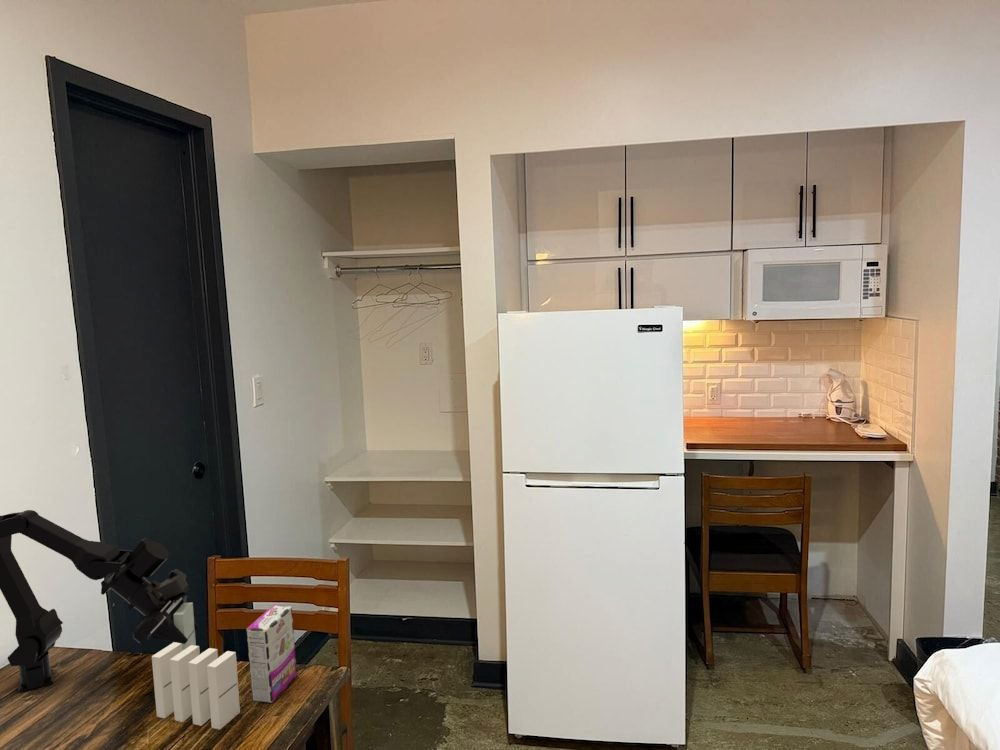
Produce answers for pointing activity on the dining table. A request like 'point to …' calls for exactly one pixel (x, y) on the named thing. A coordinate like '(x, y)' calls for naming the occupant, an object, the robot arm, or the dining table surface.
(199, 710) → the ivory domino
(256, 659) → the candy bar box
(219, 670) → the ivory domino
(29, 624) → the robot arm
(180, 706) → the ivory domino
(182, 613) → the sage domino
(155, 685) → the ivory domino
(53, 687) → the dining table surface
